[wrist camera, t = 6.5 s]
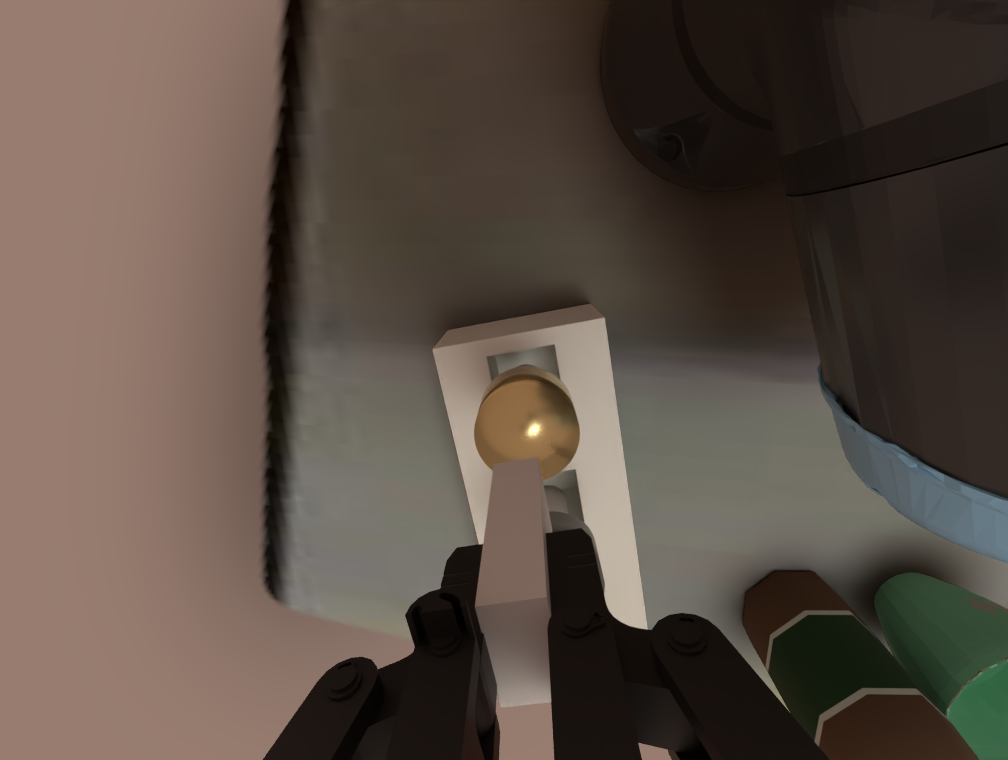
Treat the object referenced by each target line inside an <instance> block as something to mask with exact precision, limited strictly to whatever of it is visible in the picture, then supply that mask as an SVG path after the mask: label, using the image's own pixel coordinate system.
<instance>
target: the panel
mask: <svg viewBox="0 0 1008 760" xmlns="http://www.w3.org/2000/svg"><path fill="white" fill-rule="evenodd" d="M432 350H433V354H434V358H435V362H436V366H437V371H438V375H439V379H440V383H441V387H442V392H443V396H444V400H445V404H446V408H447V412H448V417H449V421H450V425H451V429H452V433H453V438H454V442H455V446H456V450H457V454H458V458H459V463H460V467H461V471H462V475H463V479H464V484H465V488H466V492H467V496H468V500H469V505H470V509H471V513H472V517H473V521H474V525H475V530H476V534H477V538H478V542H479V544H483V542H484V534H485V527H486V519H487V512H488V504H489V497H490V490H491V482H492V475H493V471H492V470H491V469H490V468H489V467H488V466H487V465H486V464H485V463H484V461H483V460H482V458H481V457H480V455H479V453H478V451H477V448H476V445H475V440H474V427H475V422H476V418H477V414H478V411H479V407H480V403H481V399H482V396H483V394H484V391H485V390H486V388H487V386H488V385H489V384H490V382H491V381H492V380H493V379H494V378H495V377H497V376H498V375H499V374H501V373H503V372H504V371H506V370H509V369H512V368H516V367H517V366H519V365H523V364H530V365H533V366H536V367H538V368H542V369H544V370H547V371H549V372H551V373H552V374H554V375H555V376H557V377H558V378H559V379H560V380H561V381H562V382H563V383H564V384H565V386H566V387H567V389H568V391H569V392H570V395H571V398H572V401H573V405H574V408H575V412H576V415H577V419H578V423H579V428H580V440H579V445H578V448H577V451H576V453H575V455H574V457H573V459H572V460H571V462H570V463H569V464H568V465H567V466H566V467H565V468H564V469H563V470H562V471H561V472H559V473H558V474H556V475H555V476H553V477H551V478H548V479H546V480H543V485H544V486H546V485H551V486H555V487H558V488H559V489H561V490H562V491H563V492H564V494H565V496H566V502H567V508H568V514H570V515H573V516H575V517H577V518H578V519H580V520H581V521H583V522H584V523H585V524H586V525H587V526H588V527H589V529H590V530H591V532H592V534H593V536H594V538H595V542H596V547H597V551H598V555H599V560H600V564H601V568H602V573H603V577H604V582H605V592H604V597H605V601H606V605H607V607H608V610H609V611H610V613H611V614H612V615H613V616H614V617H615V618H616V619H617V620H619V621H620V622H622V623H624V624H626V625H628V626H632V627H636V628H640V629H647V622H646V615H645V607H644V600H643V593H642V586H641V578H640V571H639V564H638V556H637V549H636V542H635V535H634V527H633V520H632V513H631V505H630V498H629V491H628V484H627V476H626V469H625V462H624V454H623V447H622V440H621V433H620V425H619V418H618V411H617V404H616V396H615V389H614V382H613V374H612V367H611V360H610V353H609V345H608V338H607V331H606V323H605V317H604V316H603V315H602V314H601V313H600V312H599V311H598V310H597V309H596V308H595V307H594V306H593V305H592V304H585V305H580V306H575V307H569V308H564V309H558V310H553V311H548V312H542V313H537V314H532V315H526V316H521V317H515V318H510V319H505V320H499V321H494V322H489V323H483V324H478V325H472V326H467V327H462V328H456V329H451V330H448V331H447V332H446V333H445V334H444V336H443V337H442V338H441V339H440V340H439V342H438V343H437V344H436V345H435V346H434V348H433V349H432ZM647 630H648V629H647Z"/></svg>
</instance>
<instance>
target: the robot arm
mask: <svg viewBox="0 0 1008 760" xmlns="http://www.w3.org/2000/svg"><path fill="white" fill-rule="evenodd" d="M600 72H601V83H602V89H603V94H604V99H605V103H606V106H607V109H608V113H609V115H610V118H611V120H612V123H613V125H614V127H615V129H616V131H617V133H618V134H619V136H620V138H621V139H622V141H623V142H624V144H625V145H626V147H627V148H628V149H629V150H630V152H631V153H632V154H633V155H634V156H635V157H636V158H637V159H638V160H639V161H640V162H641V163H642V164H643V165H644V166H646V167H647V168H648V169H649V170H651V171H652V172H654V173H655V174H657V175H658V176H660V177H662V178H664V179H666V180H668V181H670V182H672V183H675V184H678V185H681V186H684V187H688V188H692V189H698V190H708V191H722V190H731V189H737V188H742V187H746V186H751V185H755V184H759V183H763V182H766V181H769V180H772V179H774V178H777V177H779V176H782V175H783V178H784V183H785V188H786V199H787V204H788V208H789V213H790V218H791V223H792V228H793V232H794V237H795V242H796V247H797V251H798V256H799V261H800V266H801V271H802V275H803V280H804V285H805V290H806V294H807V299H808V304H809V309H810V314H811V318H812V323H813V328H814V333H815V338H816V342H817V347H818V352H819V357H820V361H821V363H820V364H819V366H818V380H819V383H820V387H821V392H822V394H823V396H824V398H825V400H826V401H827V403H828V404H829V406H830V407H831V409H832V413H833V416H834V420H835V423H836V426H837V430H838V433H839V437H840V440H841V444H842V448H843V451H844V453H845V456H846V458H847V460H848V461H849V463H850V465H851V467H852V468H853V470H854V471H855V473H856V474H857V476H858V477H859V478H860V479H861V480H862V481H863V482H864V484H865V485H866V486H867V487H868V488H870V489H871V490H872V491H874V492H875V493H877V494H879V495H881V496H883V497H884V498H885V499H886V500H887V501H888V502H889V504H890V505H891V506H892V507H893V508H895V509H896V511H897V512H899V513H900V514H902V515H903V516H905V517H906V518H907V519H909V520H911V521H913V522H914V523H916V524H918V525H920V526H921V527H923V528H925V529H927V530H929V531H931V532H932V533H934V534H936V535H938V536H940V537H942V538H945V539H947V540H949V541H951V542H953V543H956V544H958V545H960V546H962V547H965V548H967V549H970V550H973V551H975V552H978V553H980V554H983V555H986V556H989V557H992V558H994V559H997V560H1000V561H1004V562H1007V563H1008V0H612V1H611V4H610V7H609V10H608V14H607V17H606V21H605V25H604V30H603V36H602V43H601V55H600ZM405 616H406V619H407V623H408V626H409V629H410V632H411V636H412V639H413V642H414V645H415V649H414V652H413V653H412V654H411V655H409V656H408V657H406V658H404V659H402V660H400V661H398V662H395V663H393V664H390V665H388V666H385V667H383V668H380V669H377V666H376V665H375V664H374V662H373V661H372V660H371V659H368V658H364V657H355V658H350V659H347V660H345V661H342V662H340V663H338V664H336V665H335V666H334V667H332V668H331V669H329V670H328V671H327V672H326V673H325V674H324V675H323V676H322V677H321V678H320V679H319V681H318V682H317V683H316V685H315V686H314V687H313V689H312V690H311V692H310V693H309V695H308V696H307V697H306V699H305V700H304V702H303V703H302V705H301V706H300V707H299V709H298V711H297V712H296V713H295V714H294V716H293V717H292V719H291V720H290V722H289V723H288V725H287V726H286V727H285V729H284V730H283V732H282V733H281V734H280V736H279V738H278V739H277V740H276V742H275V743H274V745H273V746H272V747H271V749H270V750H269V751H268V753H267V754H266V756H265V758H264V759H263V760H499V744H500V730H499V723H498V719H497V715H496V695H498V698H499V702H500V706H501V708H503V707H512V706H520V705H529V704H538V703H546V702H551V705H552V721H553V741H554V760H642V758H641V754H640V749H639V745H638V743H642V744H647V745H651V746H655V747H660V748H664V749H668V752H669V755H670V756H671V759H672V760H830V759H829V758H828V757H827V756H826V755H825V753H824V752H823V751H822V750H821V749H820V748H819V746H818V745H817V744H816V743H815V742H814V741H813V739H812V738H811V737H810V736H809V735H808V733H807V732H806V731H805V730H804V729H803V728H802V726H801V725H800V724H799V723H798V722H797V721H796V719H795V718H794V717H793V716H792V715H791V713H790V712H789V711H788V710H787V709H786V708H785V706H784V705H783V704H782V703H781V702H780V701H779V699H778V698H777V697H776V696H775V695H774V693H773V692H772V691H771V690H770V689H769V688H768V686H767V685H766V684H765V683H764V682H763V680H762V679H761V678H760V677H759V676H758V675H757V673H756V672H755V671H754V670H753V669H752V668H751V666H750V665H749V664H748V663H747V662H746V660H745V659H744V658H743V657H742V656H741V655H740V653H739V652H738V651H737V650H736V649H735V648H734V646H733V645H732V644H731V643H730V642H729V640H728V639H727V638H726V637H725V636H724V635H723V633H722V632H721V631H720V630H719V629H718V628H717V627H716V626H715V625H713V624H712V623H711V622H710V621H709V620H707V619H704V618H702V617H699V616H697V615H693V614H685V613H679V614H673V615H668V616H666V617H665V618H663V619H661V620H659V621H658V622H657V623H656V625H655V626H654V627H653V629H652V630H647V629H640V628H636V627H632V626H628V625H626V624H624V623H622V622H620V621H619V620H617V619H616V618H615V617H614V616H613V615H612V614H611V613H610V611H609V610H608V607H607V605H606V601H605V597H604V592H603V588H602V583H601V579H600V574H599V570H598V565H597V561H596V556H595V552H594V547H593V543H592V538H591V537H590V536H589V535H588V534H587V533H586V532H585V531H584V530H583V529H582V528H577V529H571V530H564V531H557V532H552V526H551V521H550V516H549V510H548V505H547V500H546V495H545V490H544V485H543V480H542V475H541V470H540V465H539V459H538V457H535V458H529V459H523V460H516V461H510V462H504V463H498V464H494V467H493V475H492V482H491V490H490V497H489V504H488V512H487V519H486V527H485V534H484V542H483V544H479V545H472V546H466V547H459V548H456V549H455V551H454V552H453V553H452V555H451V556H450V557H449V558H448V560H447V562H446V566H445V570H444V577H443V579H442V583H441V588H440V589H439V590H435V591H431V592H429V593H427V594H425V595H423V596H421V597H420V598H418V599H417V600H416V601H415V602H414V603H413V604H412V605H411V606H410V607H409V609H408V611H407V613H406V615H405Z"/></svg>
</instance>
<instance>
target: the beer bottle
mask: <svg viewBox="0 0 1008 760" xmlns="http://www.w3.org/2000/svg"><path fill="white" fill-rule="evenodd" d="M743 626H744V628H745V630H746V632H747V634H748V636H749V639H750V641H751V643H752V645H753V646H754V648H755V650H756V652H757V654H758V655H759V657H760V659H761V661H762V663H763V664H764V666H765V668H766V670H767V672H768V673H769V675H770V677H771V679H772V681H773V682H774V684H775V686H776V688H777V690H778V691H779V693H780V695H781V697H782V699H783V701H784V702H785V704H786V706H787V708H788V710H789V711H790V713H791V715H792V716H793V717H794V718H795V719H796V721H797V722H798V723H799V724H800V725H801V726H802V728H803V729H804V730H805V731H806V732H807V733H808V735H809V736H810V737H811V738H812V739H813V741H814V742H815V743H816V744H817V745H818V746H819V748H820V749H821V750H822V751H823V752H824V753H825V755H826V756H827V757H828V758H829V759H830V760H979V759H978V757H977V755H976V754H975V753H974V752H973V750H972V749H971V748H970V746H969V745H968V744H967V742H966V741H965V740H964V739H963V737H962V736H961V735H960V733H959V732H958V731H957V729H956V728H955V727H954V726H953V724H952V723H951V722H950V721H949V720H948V718H947V717H946V716H945V715H944V714H943V713H942V712H941V710H940V709H939V708H938V707H937V706H936V705H935V704H934V702H933V701H932V700H931V699H930V698H929V697H928V696H927V694H926V693H925V692H924V691H923V690H922V689H921V688H920V686H919V685H918V684H917V683H916V682H915V681H914V680H913V678H912V677H911V676H910V675H909V674H908V673H907V672H906V670H905V669H904V668H903V667H902V666H901V665H900V664H899V662H898V661H897V660H896V659H895V658H894V657H893V656H892V654H891V653H890V652H889V651H888V650H887V649H886V647H885V646H884V645H883V644H882V643H881V642H880V641H879V639H878V638H877V637H876V636H875V635H874V634H873V633H872V631H871V630H870V629H869V628H868V627H867V626H866V625H865V623H864V622H863V621H862V620H861V619H860V618H859V617H858V615H857V614H856V613H855V612H854V611H853V610H852V609H851V608H850V607H849V606H848V605H847V604H846V603H845V602H844V601H843V600H842V599H841V598H840V597H839V596H838V595H837V594H836V593H835V592H834V591H833V590H832V589H831V588H830V587H829V586H828V585H827V584H826V583H825V582H824V581H823V580H822V579H821V578H820V577H819V576H818V575H817V574H816V573H814V572H811V571H775V572H773V573H772V574H771V575H769V576H768V577H767V578H765V579H764V580H762V581H761V582H760V583H758V584H757V585H756V586H754V587H753V588H752V589H750V590H749V591H748V592H747V594H746V602H745V610H744V618H743Z"/></svg>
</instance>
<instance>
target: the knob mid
mask: <svg viewBox="0 0 1008 760" xmlns="http://www.w3.org/2000/svg"><path fill="white" fill-rule="evenodd" d="M544 490H545V495H546V500H547V505H548V510H549V516H550V521H551V526H552V532H557V531H564V530H571V529H577V528H582V529H583V530H584V531H585V532H586V533H587V534H588V535H589V536H590V537H591V538H592V543H593V547H594V552H595V556H596V561H597V565H598V570H599V574H600V579H601V583H602V588H603V592H605V582H604V577H603V573H602V568H601V564H600V560H599V555H598V551H597V547H596V542H595V538H594V536H593V534H592V532H591V530H590V529H589V527H588V526H587V525H586V524H585V523H584V522H583V521H581V520H580V519H578V518H577V517H575V516H573V515H570V514H568V508H567V502H566V496H565V494H564V492H563V491H562V490H561V489H559V488H558V487H555V486H551V485H546V486H544Z"/></svg>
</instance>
